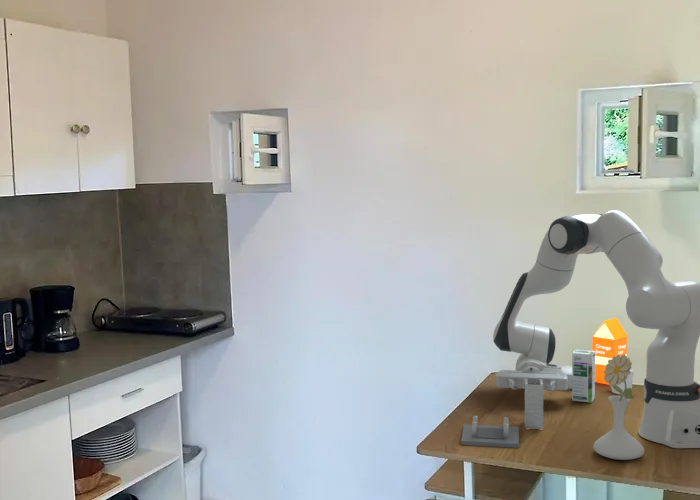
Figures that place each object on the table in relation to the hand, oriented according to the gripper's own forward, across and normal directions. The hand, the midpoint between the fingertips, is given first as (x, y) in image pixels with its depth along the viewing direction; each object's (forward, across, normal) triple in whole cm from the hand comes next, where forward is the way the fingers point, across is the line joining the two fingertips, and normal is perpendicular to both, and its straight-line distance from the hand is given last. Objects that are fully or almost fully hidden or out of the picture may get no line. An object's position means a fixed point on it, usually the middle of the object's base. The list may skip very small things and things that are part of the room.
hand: (532, 387), depth 216 cm
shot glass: (-25, +27, +7) cm, 37 cm away
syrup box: (-15, +15, +7) cm, 22 cm away
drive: (+12, 0, +7) cm, 14 cm away
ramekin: (-30, +13, +7) cm, 33 cm away
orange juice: (-38, +25, +7) cm, 46 cm away
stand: (+23, -11, +7) cm, 27 cm away
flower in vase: (+32, +19, +7) cm, 38 cm away
